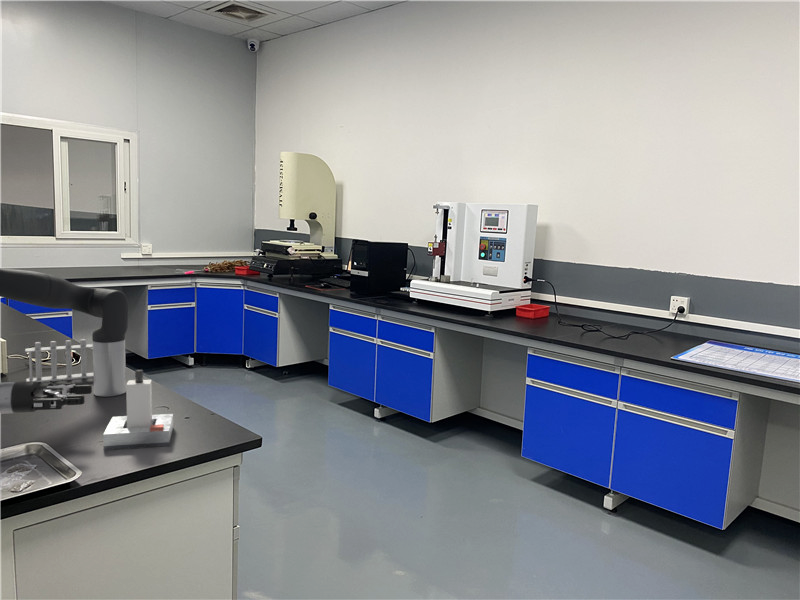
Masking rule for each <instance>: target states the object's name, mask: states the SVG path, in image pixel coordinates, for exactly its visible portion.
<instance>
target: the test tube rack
mask: <svg viewBox="0 0 800 600" xmlns="http://www.w3.org/2000/svg"><path fill="white" fill-rule="evenodd" d="M79 341H80V344H77V345H75V344H73V345H72V340H71V339H70V340H69V339H68V340H65V345H61V346H60V345H59V346H58V345H57V341H56V340H52V341H50V343H49V344H50V346H47V347H46V346H45V347H43V346H42V343H41V341H36V342H34V347H29V348H25V350H24V351H25V353H28V362H29V363H28V365H29V377H28V378H26V379H25V382H26V381H35V382H41V383H50V381H52V382H61V381H62V380H63V381H69V380H70V381H71V380H83V378H84V379H93V372H88V371H87V368H88V367H87V349H93V343H88V344H87V340H86V339H84V338H83V339H80V340H79ZM78 349H79V350H80V373H74V374H73V360H72V359H73V358H72V357H73V356H72V350H78ZM57 351H65V364H66V365H65V366H66V367H65V371H66V374H64V375H63V374H61V375H58V357H57V356H58V355H57ZM42 352H50V368H51V369H50V371H51V372H50V373H51V375H49V376H43V369H42V368H43V366H42V365H43V363H42ZM33 353H34V359H35V377H34V375H33Z"/></svg>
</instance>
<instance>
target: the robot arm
mask: <svg viewBox="0 0 800 600" xmlns="http://www.w3.org/2000/svg"><path fill="white" fill-rule="evenodd" d="M0 297H2V298H5V299H8V300H12V301H15V302H20V303H24V304H28V305H32V306H37V307H42V308H46V309H47V308H48V309H57V310H59V309H63V310H64V309H68V310H74V311H78V312H80V313H84V314H87V315H89V316H93V317H95V318H98V319H99V318H100V319H101V326H100V328H98V329H95V330H94V331H93V332H92V335H91V336H92V339H91V340H92V342H91V343H92V344H93V348H92V368H93V370H92V373H93V378H92V379H93V387H92V385H91V384H81V385H80V384H78V385H76V384H75V382H74V381H73V382H72V381H71V382H55V383H52V382H51V383H50V382H49V383H48V384H47V386H46V387H42V388H41V387H40V384H39V383H37V382H35V381H26V380H25V381H9V382H8V381H5V382H0V414H23V413H34V412H36V411H42V410H43V411H45V410H61V409H62V408H65V407H67V406H80V405H81V406H82V405H84V404H85V401H86V399H85V395H91V393H93V395H95V396H97V397H103V398H104V397H116V396H120V395H124V394H125V393H126V384H127V381H126V380H127V377H126V375H127V374H126V373H127V372H126V334H127V330H128V324H129V321H128V320H129V301H128V298H127V296H126V293H124V292H123V291H121V290H117V289H110V288H102V287H101V288H100V287H99V288H97V287H87V286H81V285H76V284H74V283H72V282H70V281H68V280H67V279H64V278H62V277H60V276H56V275H53V274H48V273H45V272H40V271H35V270H34V271H33V270H26V269H25V270H23V269H13V268H11V269H10V268H1V267H0Z"/></svg>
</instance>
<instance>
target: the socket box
mask: <svg viewBox="0 0 800 600" xmlns="http://www.w3.org/2000/svg"><path fill="white" fill-rule="evenodd" d="M173 431H174V413H165V414H164V413H163V414H160V413H159V414H152V425H151V426H150V427H141V428H127V415H123V416H121V415H119V416H112V417H111V419H110V421H109V423H108V424H107V426H106V429H105V431H104V432H103V434H102V439H103V441H102V442H103V443H102V444H103V451H107V450H108V451H109V450H111V451H112V450H123V449H126V450H127V449H128V450H129V449H141V448H142V449H144V448H159V447H161V448H162V447H169V446H170V444H171V439H172V434H173Z"/></svg>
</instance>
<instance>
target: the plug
mask: <svg viewBox="0 0 800 600" xmlns="http://www.w3.org/2000/svg"><path fill="white" fill-rule="evenodd" d="M134 371H135V372H134V375H135V377H134V379H130V380H128V381H126V392H125V393H126V397H125V398H126V416H127V428H141V427H150V426H151V425H152V415H153V394H152V392H153V390H152V389H153V385H152V379H144V370H143V369H136V370H134Z"/></svg>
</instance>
